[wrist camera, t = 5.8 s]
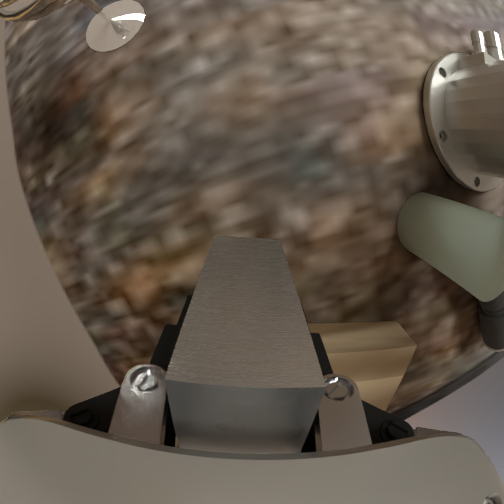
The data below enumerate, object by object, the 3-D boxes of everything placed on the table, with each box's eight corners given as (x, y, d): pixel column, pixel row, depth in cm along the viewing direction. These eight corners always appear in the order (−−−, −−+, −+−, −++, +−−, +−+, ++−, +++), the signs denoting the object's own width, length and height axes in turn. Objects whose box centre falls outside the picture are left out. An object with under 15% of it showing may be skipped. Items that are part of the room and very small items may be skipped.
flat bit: (214, 235, 13) (164, 379, 5) (279, 239, 13) (326, 387, 5) (213, 339, 15) (190, 489, 7) (267, 343, 15) (280, 494, 7)
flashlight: (443, 244, 21) (482, 266, 16) (476, 207, 20) (516, 222, 15) (475, 335, 25) (499, 360, 20) (501, 305, 24) (528, 326, 19)
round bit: (402, 187, 19) (486, 213, 10) (447, 197, 19) (526, 225, 11) (391, 250, 21) (462, 303, 12) (436, 253, 21) (505, 299, 12)
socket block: (188, 318, 22) (180, 349, 18) (396, 320, 23) (417, 345, 19) (196, 423, 26) (193, 452, 22) (355, 418, 27) (364, 444, 23)
